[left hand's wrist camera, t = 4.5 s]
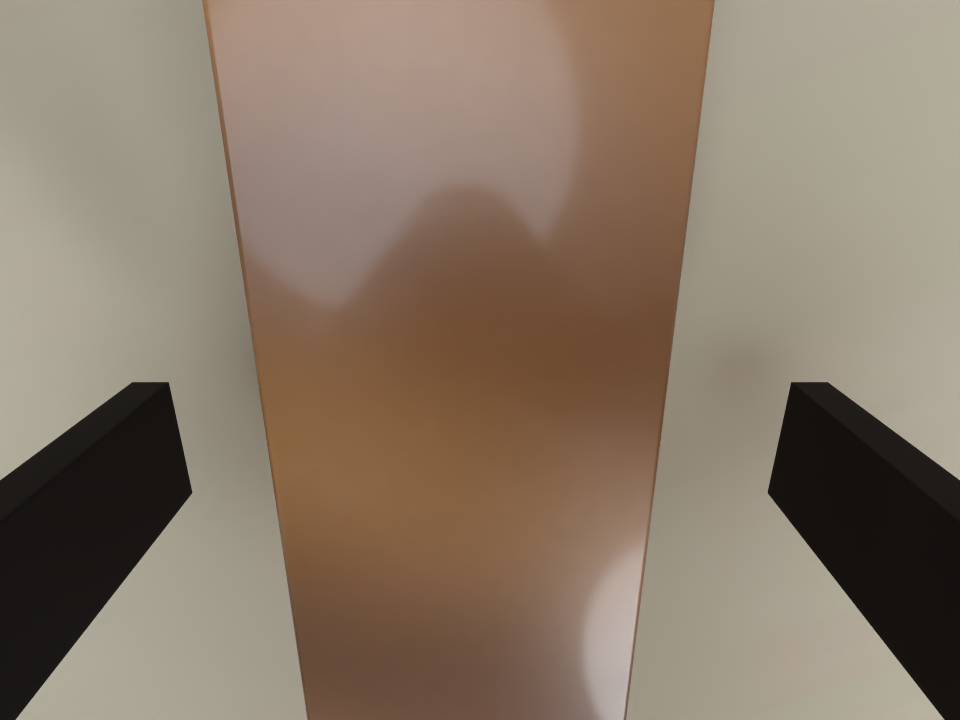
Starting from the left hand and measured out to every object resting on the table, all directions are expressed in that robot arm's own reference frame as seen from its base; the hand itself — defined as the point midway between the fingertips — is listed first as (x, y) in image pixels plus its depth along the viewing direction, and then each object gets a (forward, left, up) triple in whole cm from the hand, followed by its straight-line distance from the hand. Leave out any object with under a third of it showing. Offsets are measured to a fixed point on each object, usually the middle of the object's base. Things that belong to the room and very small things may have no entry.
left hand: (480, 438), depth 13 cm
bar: (+27, 0, -4) cm, 27 cm away
